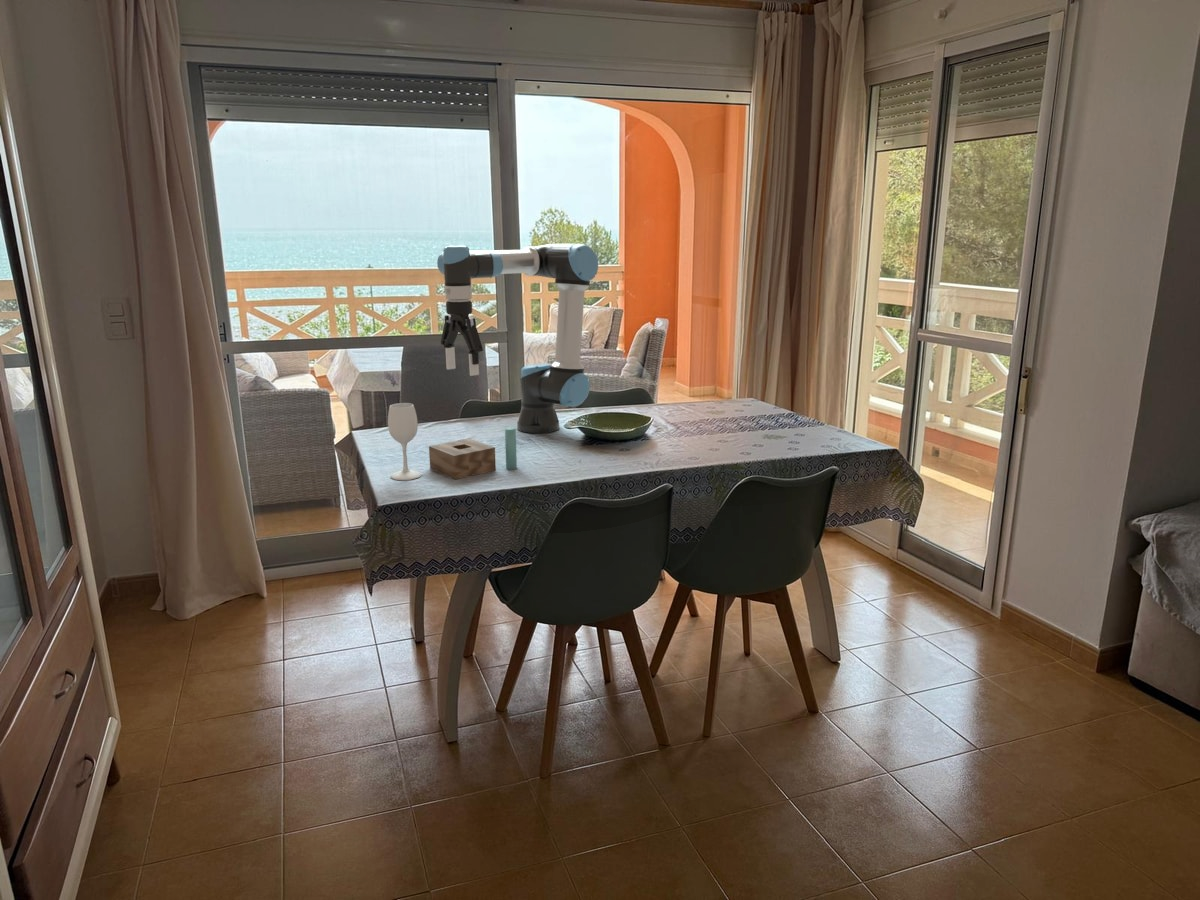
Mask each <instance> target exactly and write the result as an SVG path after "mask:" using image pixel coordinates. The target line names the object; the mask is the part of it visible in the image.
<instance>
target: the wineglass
mask: <svg viewBox="0 0 1200 900" xmlns="http://www.w3.org/2000/svg"><path fill="white" fill-rule="evenodd" d="M387 414H388V415H387V426H388V427H387V428H388V432H389V435H390V436H391V438H392V439H393V440H395V441H396V442H397V443H399V444H400V445H401V448H402V456H403V457H402V459H403V460H402V461H403V462H402V463H403V468H402V470H399V471H395V472H393V473H392V474H391V475H390V478H391V479H392V480H395V481H412V480H416V479H419V478H420V477H422V473H421V472H419V471H417V470H412V469H409V465H408V458H407V457H408V456H407V446H408V443H410V442H411V441H412V440H413V439H414V438H415V437H416V435H417V433H418V424H419V423H418V416H417V411H416V408H415V405H414V404H413V403H411V402H410V403H409V402H399V403H397V402H396V403H393V404H390V405H389V408H388V413H387Z"/></svg>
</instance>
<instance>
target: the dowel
mask: <svg viewBox="0 0 1200 900" xmlns="http://www.w3.org/2000/svg"><path fill="white" fill-rule="evenodd" d="M504 438H505V439H504V442H505V444H504V445H505V469H506V470H507V469H508V470H516V469H517V468H518V465H517V464H518V462H517V461H518V460H517V458H518V456H517V428H516V427H506V428H504Z"/></svg>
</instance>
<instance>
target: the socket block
mask: <svg viewBox="0 0 1200 900" xmlns="http://www.w3.org/2000/svg"><path fill="white" fill-rule="evenodd" d="M428 451H429V469H430V470H432V471H434V472H437V473H440V474H442V475H443V476H446V477H448V478H451V479H453V480H458V479H463V478H467V477H473V476H476V475H481V474H484V473H490V472H494V471H496V470H497V469H496V468H497V467H496V464H497V463H496V447H494V446H492V445H489V444H487V443H484V442H480V441H477V440H475V439H472V438H464V439H459V440H454V441H449V442H443V443H439V444H433V445H428Z"/></svg>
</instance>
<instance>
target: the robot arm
mask: <svg viewBox="0 0 1200 900" xmlns="http://www.w3.org/2000/svg"><path fill="white" fill-rule="evenodd" d="M442 251H443V252H441V253H440V254H439V255H438V257H437V259H436V262H437V263H436V264H437V265H436V266H437V268H438V271H439V273H441V274H442V275H444V294H445V299H446V300H447V301H446V302H445V311H446V315H444V324H443V329H442V334H441V339H440V345H441V346H443V347H444V348H445V364H446V366H445V368H446V370H455V369H456V368H457V367H456V366H457V365H456V352H455V341H456V339H457V337H458V335H459V334H460V335H461V336H462V337H463V339H464V341H465V343H466V345H467V348H468V350H469V352H468V364H469V365H468V366H469V368H468V369H469V376H472V377H473V376H479V375H480V367H479V363H480V362H479V360H480V359H479V353H480V352H483V350H484V348H483V344H482V341H481V338H480V334H479V331H478V328H477V322H476V318H470V317H469V315H471V314H472V313H473V302H472V301H471V299H472V298H473V297H472V296H473V295H472V279H485V278H487V279H488V278H490V279H491V278H495V277H499V276H500V275H503V274H504V275H508V274H509V275H510V274H512V275H513V274H524V275H526V276H528V277H529V276H530V277H532V276H533V277H534V276H535V277H544V278H549V279H554V284H555V286H556V287H557V289H558V303H557V304H558V307H557V318H556V319H557V320H556V322H557V323H556V334H555V335H556V338H555V339H556V340H555V352H554V353H555V355H554V361H553V362H552V363H539V364H531V365H525V366H523V367H522V368H521V369H520V395H521V396H520V397H521V399H520V400H521V401H520V402H521V407H520V408H521V409H520V412H519V415H518V419H517V422H516V430H518V431H520V432H523V433H527V434H528V433H529V434H544V433H545V434H546V433H552V432H555V431H558V430H559V429H560V421H559V417H558V414H557V411H556V409H555V404H556V405H560V406H563V407H578V406H580V405H582V404H583V403H584V401H585V400H586V399H587V398H588V396H589V393H590V389H591V383H590V380H589V376H587V375H586V374H585V372H584V371H585V367H584V365H583V364H582V363H581V349H582V337H583V322H584V321H583V320H584V305H585V292H586V290H588V288H590V286H591V285H590V284H591V283H590V282H591V281H592V280H593V279H595V277H596V276H597V274H598V270H599V260H598V256H597V254H596V253H595V252H594V249H593V248H592V247H590V246H589V245H586V244H583V243H547V244H543V245H535V246H525V247H524V248H523V249H500V250H499V249H497V250H494V249H493V250H489V249H488V250H470V247H469V246H468V245H448V246H445V247H444V248H443V250H442Z"/></svg>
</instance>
